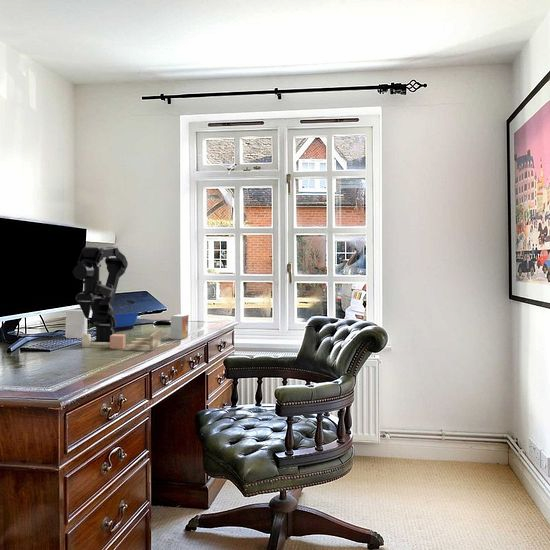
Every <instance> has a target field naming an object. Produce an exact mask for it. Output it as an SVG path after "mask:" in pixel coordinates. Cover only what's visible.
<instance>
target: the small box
mask: <svg viewBox="0 0 550 550" xmlns="http://www.w3.org/2000/svg"><path fill="white" fill-rule="evenodd" d="M189 316H190V315H189V314H181V313H180V314H179V313H177V314H175V315H171V316H170V339H171V340H172V339H173V340H183V339H186V338H189Z"/></svg>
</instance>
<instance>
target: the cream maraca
mask: <svg viewBox="0 0 550 550" xmlns="http://www.w3.org/2000/svg"><path fill="white" fill-rule="evenodd" d="M126 335H127V334H126V333H125V334H124V333H123V334H119V333H118V334H117V333H114V334H112V335H111V336H110V342H93V341H91V340H92V339H91V338H92V334H91V333H87V334H82V338H81V348H91V345H98V346H99V345H100V346H101V345H102V346H103V345H104V346H105V345H106V346H109V349H111V348H112V349H113V350H114V349H116V350H117V349H119V350H123V349H124V348H125V346H126ZM112 349H111V350H112Z"/></svg>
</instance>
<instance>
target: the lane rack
mask: <svg viewBox="0 0 550 550" xmlns="http://www.w3.org/2000/svg"><path fill="white" fill-rule="evenodd" d="M134 339H135V340H131V341H130V344H126V343H125V347H124V348H125V351H142V352H143V351H151V352H153V351H154V350H155V349H157V348H158V347H159V346H160V345H161V344H162V329H157V330H155V331H154V332H152V334H150V335H149V338H146V337H145V338H144V337H143V338H142V337H141V338H140V337H139V338H137V337H136V338H134Z"/></svg>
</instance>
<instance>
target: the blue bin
mask: <svg viewBox="0 0 550 550" xmlns="http://www.w3.org/2000/svg"><path fill="white" fill-rule="evenodd" d="M139 315H140V314H139V312H138V311H134V312H123V313H114V317H115V319H116V321H117V323H116V327H113V330H114V332H118V331H125V330H133V329H134V325H135V323H136V321H137V319H138V316H139ZM109 325H110V324H109Z"/></svg>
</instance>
